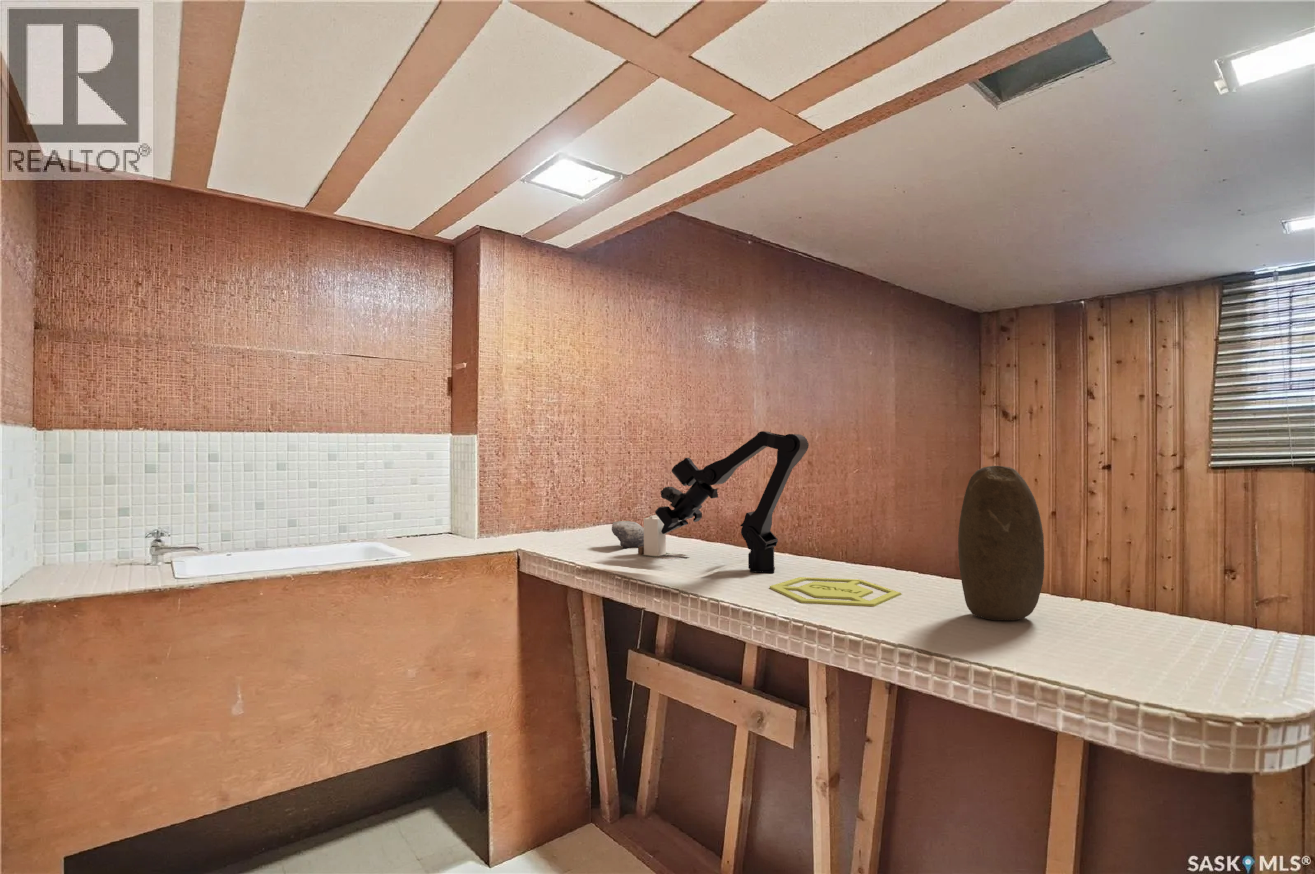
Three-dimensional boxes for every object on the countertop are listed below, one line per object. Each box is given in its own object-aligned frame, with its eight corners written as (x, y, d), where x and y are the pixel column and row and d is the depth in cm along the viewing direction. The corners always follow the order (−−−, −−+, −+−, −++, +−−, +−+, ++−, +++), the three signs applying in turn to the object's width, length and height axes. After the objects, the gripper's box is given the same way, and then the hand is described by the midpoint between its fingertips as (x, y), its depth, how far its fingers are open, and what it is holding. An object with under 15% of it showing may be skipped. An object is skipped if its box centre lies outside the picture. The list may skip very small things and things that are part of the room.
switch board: (697, 559, 189) (697, 547, 189) (680, 565, 181) (680, 552, 181) (650, 554, 198) (650, 543, 198) (632, 559, 190) (632, 547, 190)
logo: (914, 586, 150) (858, 610, 128) (914, 589, 150) (858, 614, 128) (816, 572, 168) (751, 591, 146) (816, 575, 168) (751, 594, 146)
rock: (637, 559, 203) (632, 530, 201) (607, 549, 216) (603, 521, 214) (662, 548, 210) (658, 520, 208) (632, 539, 222) (628, 512, 221)
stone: (947, 613, 127) (946, 465, 128) (999, 606, 133) (997, 464, 134) (1004, 630, 116) (1002, 467, 116) (1058, 621, 121) (1055, 465, 122)
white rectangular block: (665, 553, 192) (665, 515, 192) (657, 556, 188) (657, 516, 188) (652, 552, 195) (651, 514, 195) (643, 554, 191) (643, 515, 191)
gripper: (693, 476, 195) (663, 510, 201) (660, 479, 180) (629, 515, 185) (715, 502, 191) (684, 536, 197) (684, 508, 175) (651, 544, 181)
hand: (662, 532), depth 190 cm, fingers closed
